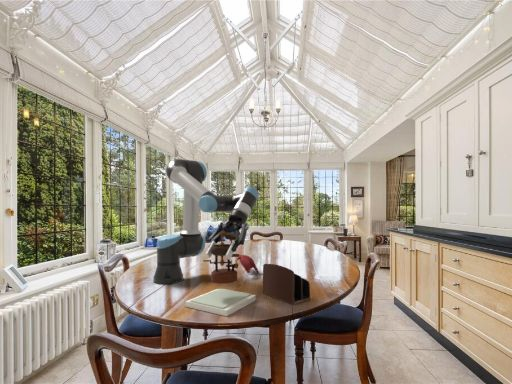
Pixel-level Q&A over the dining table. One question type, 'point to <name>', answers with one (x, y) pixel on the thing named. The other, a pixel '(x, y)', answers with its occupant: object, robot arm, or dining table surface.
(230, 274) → the music box
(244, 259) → the red winged figure
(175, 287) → the dining table surface
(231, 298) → the display stand
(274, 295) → the letter holder
